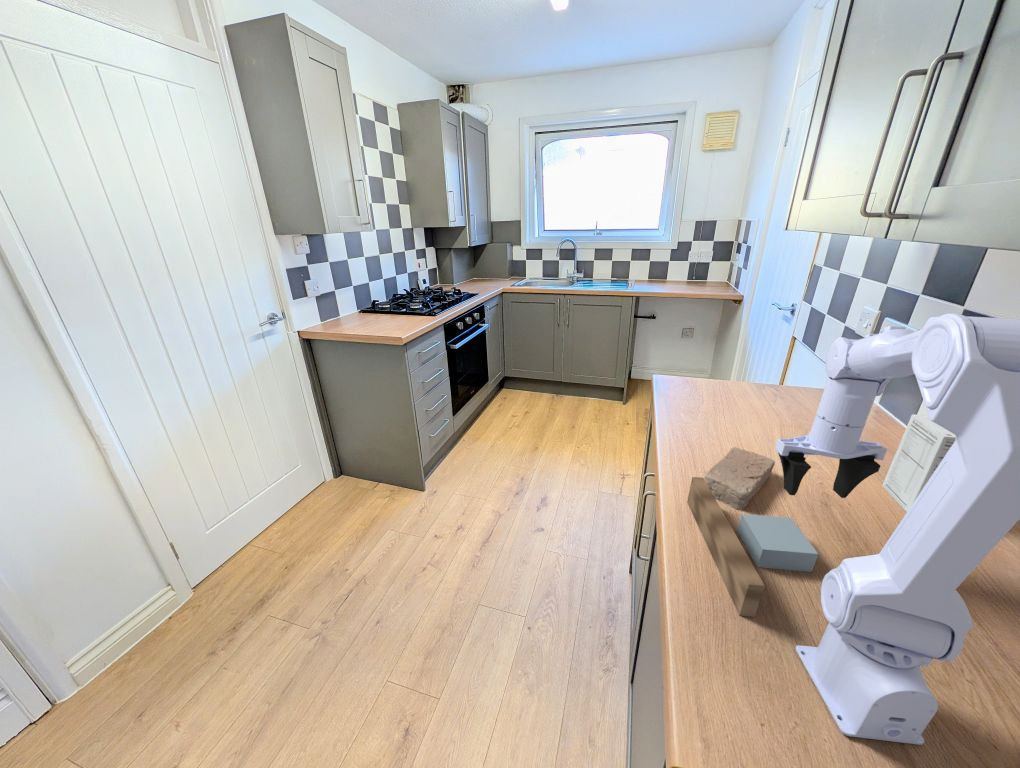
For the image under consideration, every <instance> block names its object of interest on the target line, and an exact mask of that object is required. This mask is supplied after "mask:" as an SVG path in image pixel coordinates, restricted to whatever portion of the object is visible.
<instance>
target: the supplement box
mask: <svg viewBox="0 0 1020 768" xmlns="http://www.w3.org/2000/svg"><path fill="white" fill-rule="evenodd" d="M955 439H956V436H955V434H953V433H952V432H950V431H948V430H946V429H945V428H943V427H941V426H939V425H938V424H936V423H934V422H933V421H931V420H930V417H929V415H925V414H914V413H913V414H911V415H910V419H909V421H908V423H907V425H906V428H905V430H904V433H903V435H902V438H901V440H900V443H899V445H898V447H897V449H896V452H895V454H894V456H893V459H892V461H891V464H890V466H889V467H888V471H887V473H886V476H885V478H884V480H883V482H882V485H881V486H882V487H883V489H884V490H885V491H886V492H887V493H888V494H889V495H890V496H891V497H892V499H893V500H894V501H895V502H896V503H898V505H899V506H900V507H901V508H902V509H903V510H904V511H905V512H906V513H907V512H908V510H909V509H910V507H911V506H912V504H913V503H914V501H915V500H916V498H917V497H918V495H919V494H920V492H921V491H922V489H923V488H924V486H925V485H926V483H927V482H928V480H929V479H930V477H931V476H932V474H933V473H934V472H935V470H936V469H937V467H938V466H939V464H940V463H941V461H942V460H943V458H944V457H945V455H946V454H947V452H948V451H949V449H950V448H951V446H952V445H953V443H954V442H955Z"/></svg>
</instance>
